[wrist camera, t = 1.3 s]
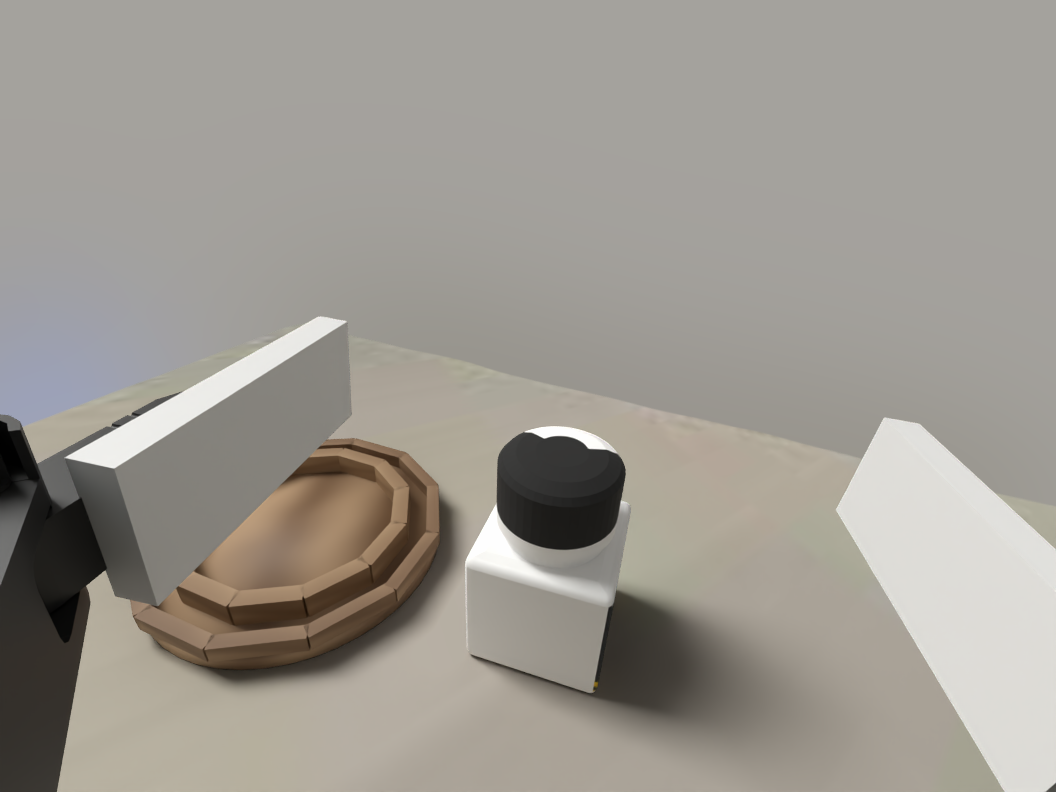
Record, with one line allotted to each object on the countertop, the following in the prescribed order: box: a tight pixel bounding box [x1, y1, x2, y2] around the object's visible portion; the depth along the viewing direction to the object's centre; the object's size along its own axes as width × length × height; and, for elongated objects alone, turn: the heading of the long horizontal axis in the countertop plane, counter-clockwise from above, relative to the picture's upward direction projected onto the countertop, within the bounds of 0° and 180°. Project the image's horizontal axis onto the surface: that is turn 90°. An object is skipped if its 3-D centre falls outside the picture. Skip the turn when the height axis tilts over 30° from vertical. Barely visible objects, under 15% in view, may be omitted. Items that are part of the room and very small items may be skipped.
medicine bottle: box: [465, 427, 631, 693], centre depth 26 cm, size 7×7×12 cm
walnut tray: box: [130, 438, 440, 670], centre depth 33 cm, size 18×18×2 cm
